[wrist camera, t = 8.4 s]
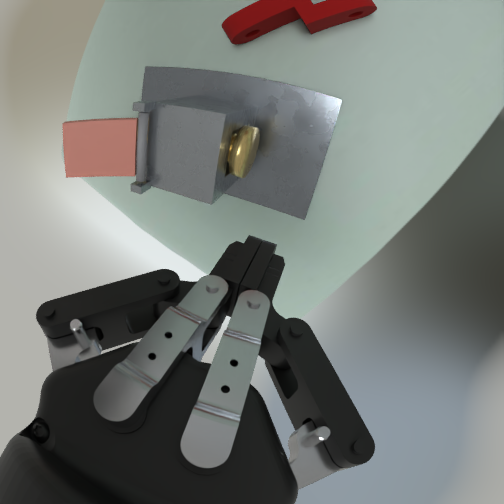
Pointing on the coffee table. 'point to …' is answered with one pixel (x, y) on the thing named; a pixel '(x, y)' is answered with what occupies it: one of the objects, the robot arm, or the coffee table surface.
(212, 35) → the coffee table surface
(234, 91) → the latch base plate
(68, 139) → the latch flap
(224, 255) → the robot arm
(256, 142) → the brass pin
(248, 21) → the mechanical linkage
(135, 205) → the coffee table surface
